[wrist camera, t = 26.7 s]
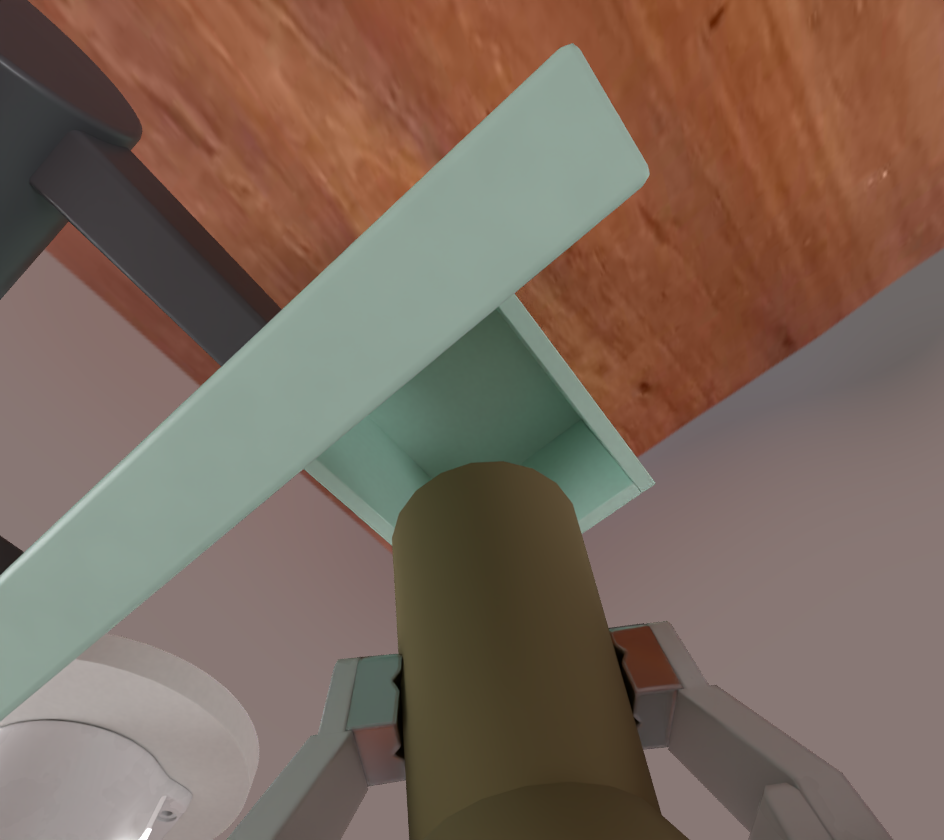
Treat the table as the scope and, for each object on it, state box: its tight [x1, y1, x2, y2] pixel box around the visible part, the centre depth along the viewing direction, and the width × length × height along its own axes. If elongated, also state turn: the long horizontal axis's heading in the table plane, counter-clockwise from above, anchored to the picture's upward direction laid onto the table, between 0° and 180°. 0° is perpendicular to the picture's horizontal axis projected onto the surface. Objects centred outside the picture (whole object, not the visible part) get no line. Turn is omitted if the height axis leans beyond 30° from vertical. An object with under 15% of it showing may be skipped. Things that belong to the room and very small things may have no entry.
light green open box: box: [304, 293, 655, 545], centre depth 23 cm, size 14×12×9 cm
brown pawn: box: [392, 461, 689, 840], centre depth 9 cm, size 6×6×11 cm
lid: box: [0, 0, 650, 721], centre depth 9 cm, size 14×12×5 cm
